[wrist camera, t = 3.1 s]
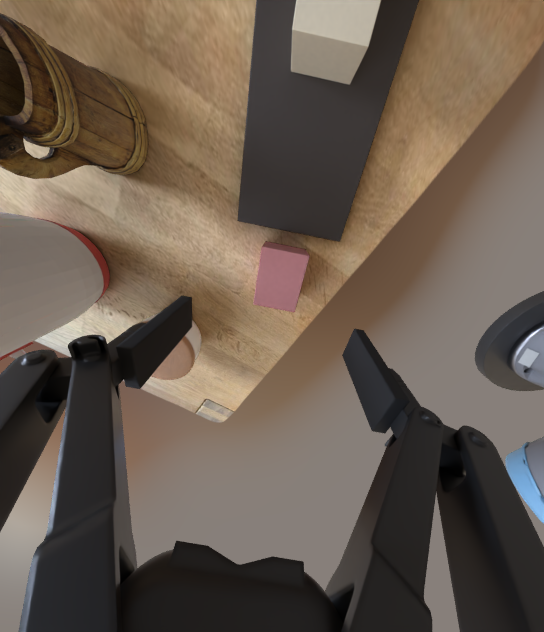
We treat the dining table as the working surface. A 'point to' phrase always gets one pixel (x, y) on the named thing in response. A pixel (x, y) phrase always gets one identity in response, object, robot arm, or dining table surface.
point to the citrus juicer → (44, 279)
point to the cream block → (331, 37)
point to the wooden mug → (63, 110)
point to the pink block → (280, 276)
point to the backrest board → (312, 124)
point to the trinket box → (179, 355)
